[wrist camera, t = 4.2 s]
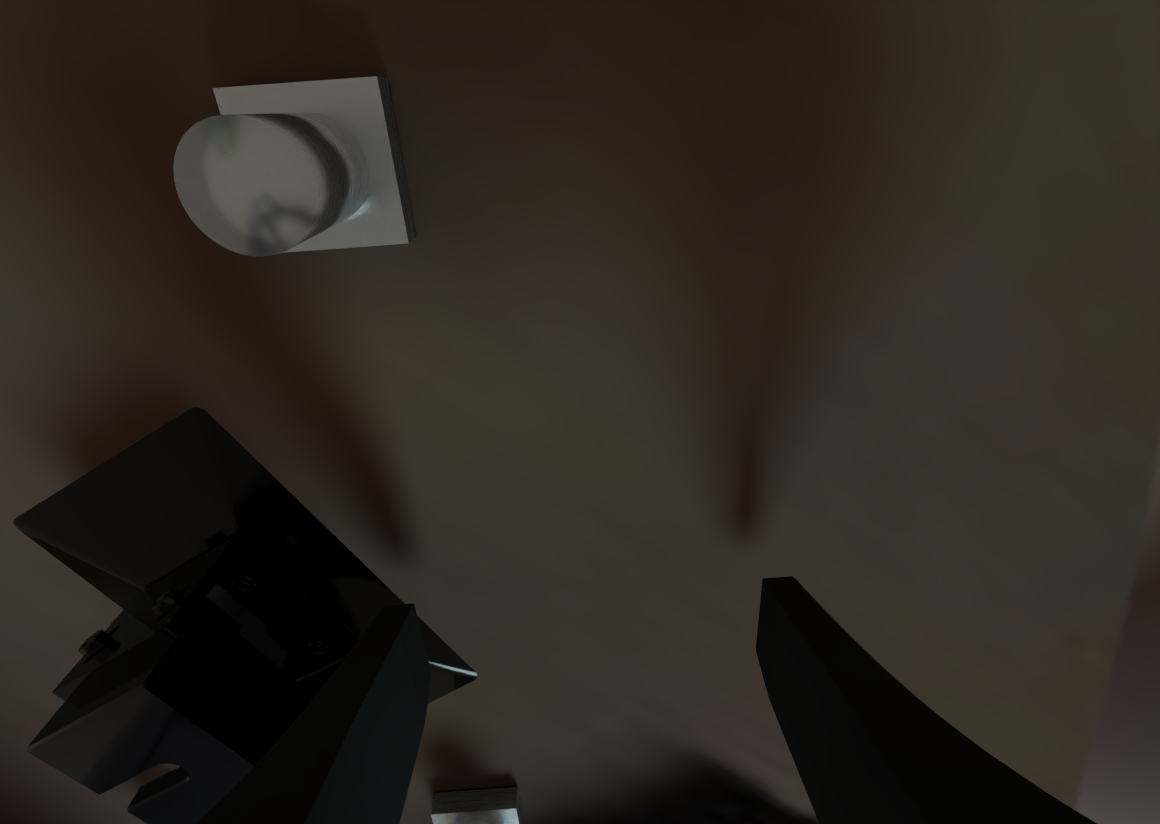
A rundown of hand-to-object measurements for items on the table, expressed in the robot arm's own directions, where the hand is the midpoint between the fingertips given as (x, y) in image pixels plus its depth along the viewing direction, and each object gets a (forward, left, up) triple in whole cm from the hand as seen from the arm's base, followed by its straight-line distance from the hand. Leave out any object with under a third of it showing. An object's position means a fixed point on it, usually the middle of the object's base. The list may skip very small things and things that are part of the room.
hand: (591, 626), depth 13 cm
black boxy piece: (0, +8, -2) cm, 8 cm away
